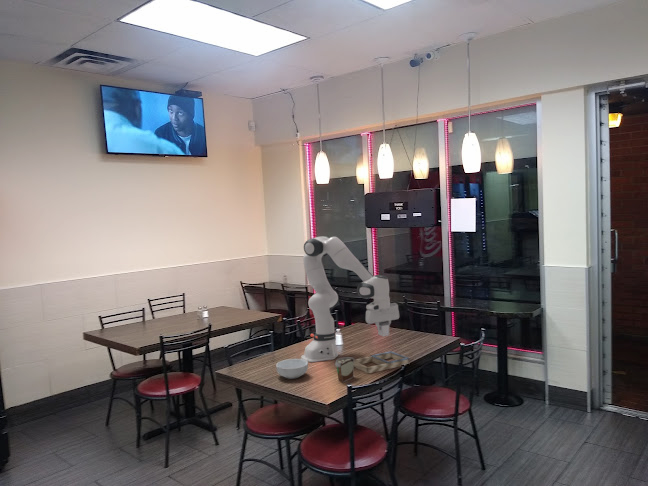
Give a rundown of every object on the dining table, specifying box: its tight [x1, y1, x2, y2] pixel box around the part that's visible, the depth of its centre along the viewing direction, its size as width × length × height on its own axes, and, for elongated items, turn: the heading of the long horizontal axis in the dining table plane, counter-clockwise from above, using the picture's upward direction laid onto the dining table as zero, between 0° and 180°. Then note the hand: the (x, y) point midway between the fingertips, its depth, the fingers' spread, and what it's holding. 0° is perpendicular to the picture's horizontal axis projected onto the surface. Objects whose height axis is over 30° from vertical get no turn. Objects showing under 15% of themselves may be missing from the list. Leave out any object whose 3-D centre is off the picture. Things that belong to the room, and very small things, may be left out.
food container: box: [334, 356, 355, 383], centre depth 247 cm, size 12×6×10 cm, turn 141°
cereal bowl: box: [275, 358, 309, 380], centre depth 255 cm, size 17×17×7 cm
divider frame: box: [354, 351, 410, 374], centre depth 267 cm, size 27×17×4 cm, turn 117°
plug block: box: [377, 321, 390, 337], centre depth 267 cm, size 4×5×7 cm
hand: (383, 329), depth 267 cm, fingers closed on plug block, 4 cm apart
